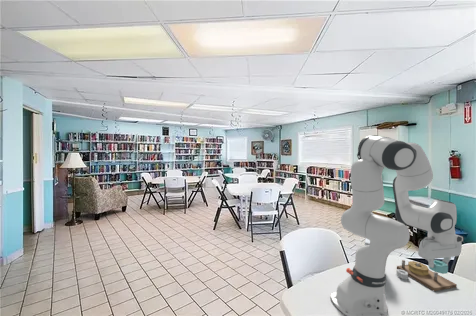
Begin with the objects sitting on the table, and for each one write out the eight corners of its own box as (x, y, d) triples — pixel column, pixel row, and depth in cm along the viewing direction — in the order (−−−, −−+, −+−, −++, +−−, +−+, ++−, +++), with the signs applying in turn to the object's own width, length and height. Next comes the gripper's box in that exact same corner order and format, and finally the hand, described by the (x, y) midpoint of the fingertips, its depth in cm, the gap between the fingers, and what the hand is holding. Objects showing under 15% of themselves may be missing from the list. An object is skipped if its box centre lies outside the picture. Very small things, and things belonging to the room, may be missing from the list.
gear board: (434, 291, 103) (435, 280, 103) (396, 268, 121) (397, 259, 121) (456, 287, 106) (457, 276, 106) (416, 265, 125) (417, 256, 124)
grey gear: (404, 280, 111) (405, 275, 111) (394, 275, 115) (395, 270, 115) (409, 277, 113) (409, 273, 113) (399, 273, 117) (399, 268, 117)
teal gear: (440, 274, 94) (440, 267, 94) (425, 266, 100) (425, 260, 100) (450, 272, 96) (451, 266, 95) (435, 265, 102) (436, 259, 101)
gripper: (430, 240, 91) (427, 272, 92) (466, 237, 96) (463, 267, 97) (415, 234, 98) (412, 264, 98) (449, 231, 102) (446, 260, 103)
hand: (438, 266), depth 98 cm, fingers closed on teal gear, 6 cm apart
